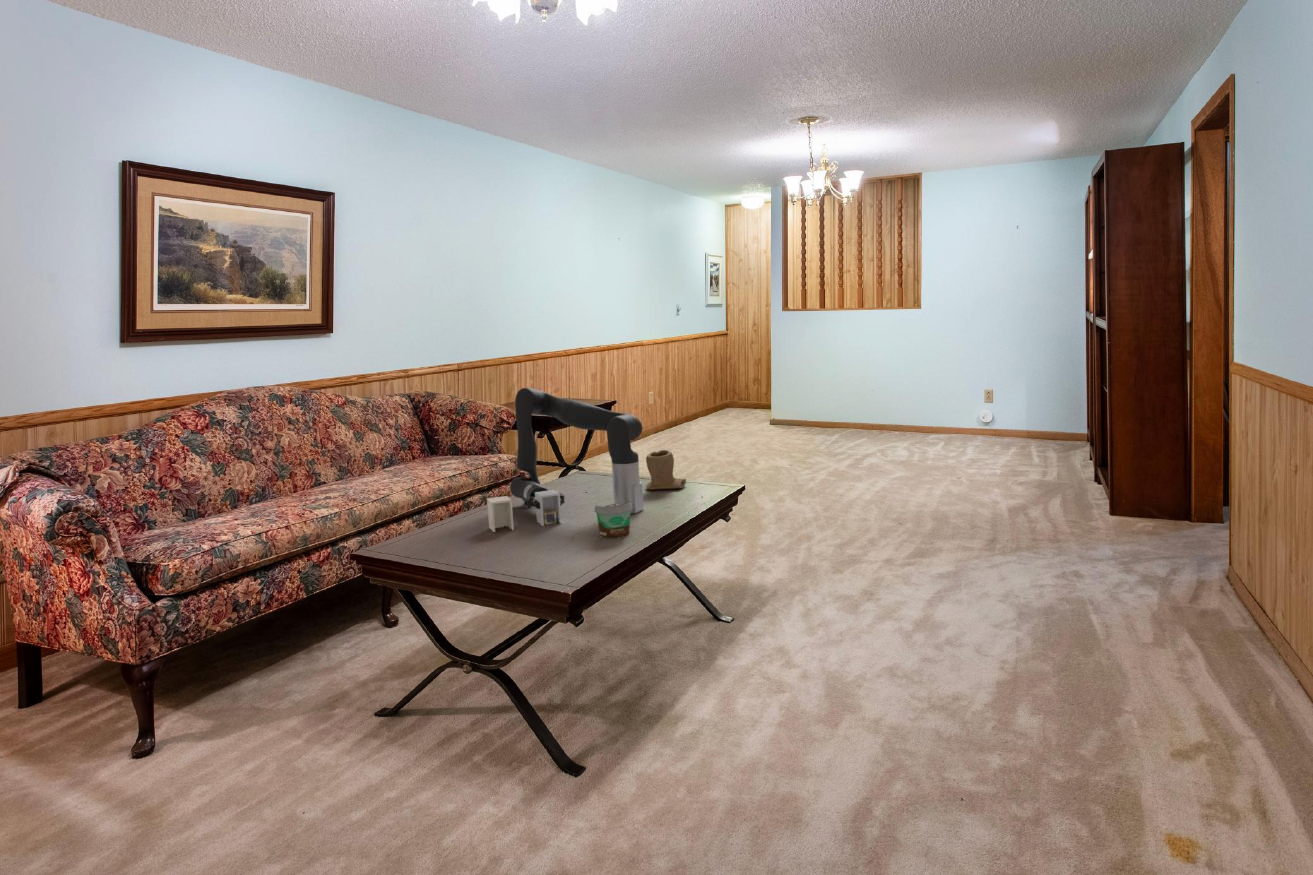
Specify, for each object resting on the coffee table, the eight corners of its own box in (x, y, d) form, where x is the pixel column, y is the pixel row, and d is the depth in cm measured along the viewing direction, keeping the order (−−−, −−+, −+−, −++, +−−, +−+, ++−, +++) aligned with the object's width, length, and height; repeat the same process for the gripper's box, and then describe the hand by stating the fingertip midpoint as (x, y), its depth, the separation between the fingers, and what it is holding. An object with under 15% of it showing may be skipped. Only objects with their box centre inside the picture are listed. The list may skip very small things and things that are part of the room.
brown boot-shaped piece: (644, 493, 320) (642, 453, 318) (648, 486, 332) (646, 448, 330) (684, 492, 318) (682, 452, 316) (686, 485, 330) (685, 447, 328)
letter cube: (553, 520, 284) (552, 509, 284) (556, 523, 280) (556, 511, 280) (541, 522, 283) (541, 510, 282) (545, 524, 279) (544, 513, 278)
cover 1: (509, 525, 280) (507, 495, 278) (513, 530, 274) (511, 499, 272) (489, 528, 277) (487, 498, 276) (493, 532, 271) (491, 502, 270)
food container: (604, 541, 255) (602, 509, 253) (595, 537, 260) (593, 505, 259) (640, 534, 260) (639, 503, 259) (631, 530, 266) (630, 499, 264)
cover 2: (556, 518, 286) (554, 489, 284) (561, 523, 280) (559, 493, 278) (537, 521, 283) (534, 492, 282) (542, 525, 277) (540, 495, 276)
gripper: (515, 487, 290) (527, 496, 275) (556, 482, 296) (570, 490, 281) (517, 508, 291) (529, 518, 276) (557, 503, 297) (571, 512, 282)
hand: (549, 504), depth 278 cm, fingers closed on cover 2, 6 cm apart
